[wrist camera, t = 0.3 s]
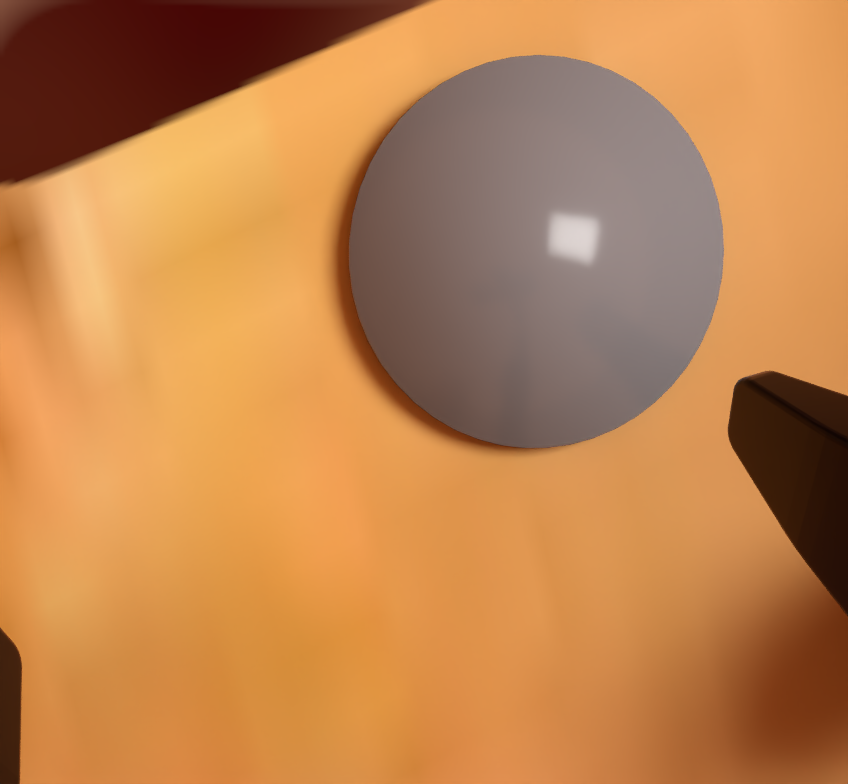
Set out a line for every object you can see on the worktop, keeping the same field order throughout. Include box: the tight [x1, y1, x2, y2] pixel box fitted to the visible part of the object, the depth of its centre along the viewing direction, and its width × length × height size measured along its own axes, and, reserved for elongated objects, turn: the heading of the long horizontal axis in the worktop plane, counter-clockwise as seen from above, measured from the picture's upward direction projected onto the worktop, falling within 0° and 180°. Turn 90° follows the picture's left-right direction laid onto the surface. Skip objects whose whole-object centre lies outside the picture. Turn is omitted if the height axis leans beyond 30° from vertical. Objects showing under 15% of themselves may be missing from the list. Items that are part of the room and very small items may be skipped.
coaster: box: [349, 55, 724, 448], centre depth 22 cm, size 12×12×1 cm
